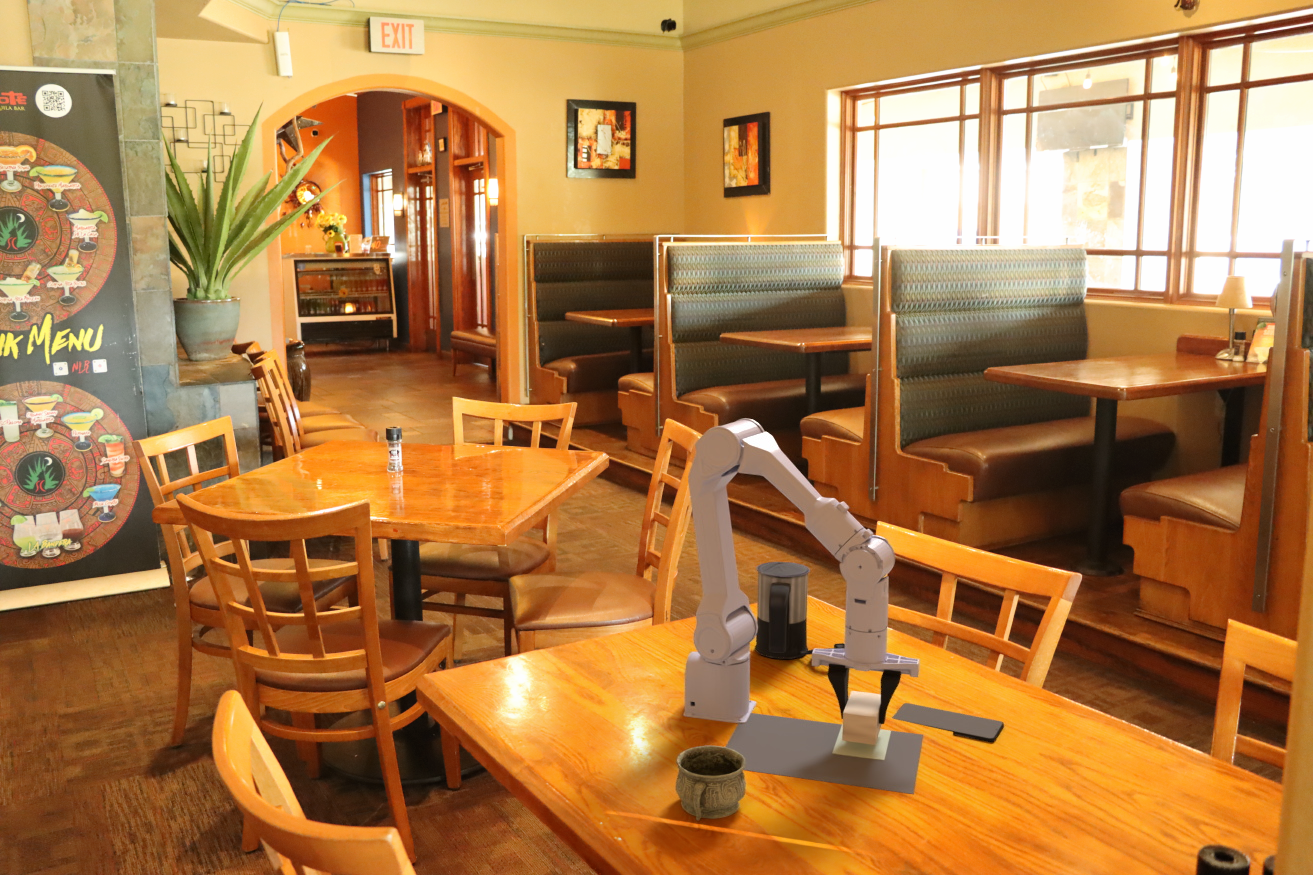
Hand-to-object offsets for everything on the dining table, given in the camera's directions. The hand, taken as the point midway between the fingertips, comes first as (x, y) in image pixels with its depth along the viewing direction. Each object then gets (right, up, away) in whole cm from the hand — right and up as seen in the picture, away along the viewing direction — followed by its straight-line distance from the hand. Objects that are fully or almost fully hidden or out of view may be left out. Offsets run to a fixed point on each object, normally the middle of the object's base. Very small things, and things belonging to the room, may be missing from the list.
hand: (863, 718), depth 153 cm
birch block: (0, -2, 0) cm, 2 cm away
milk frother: (-4, +2, +35) cm, 35 cm away
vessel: (-22, -7, -16) cm, 28 cm away
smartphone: (+14, -3, +8) cm, 16 cm away
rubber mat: (-6, -4, -2) cm, 7 cm away
